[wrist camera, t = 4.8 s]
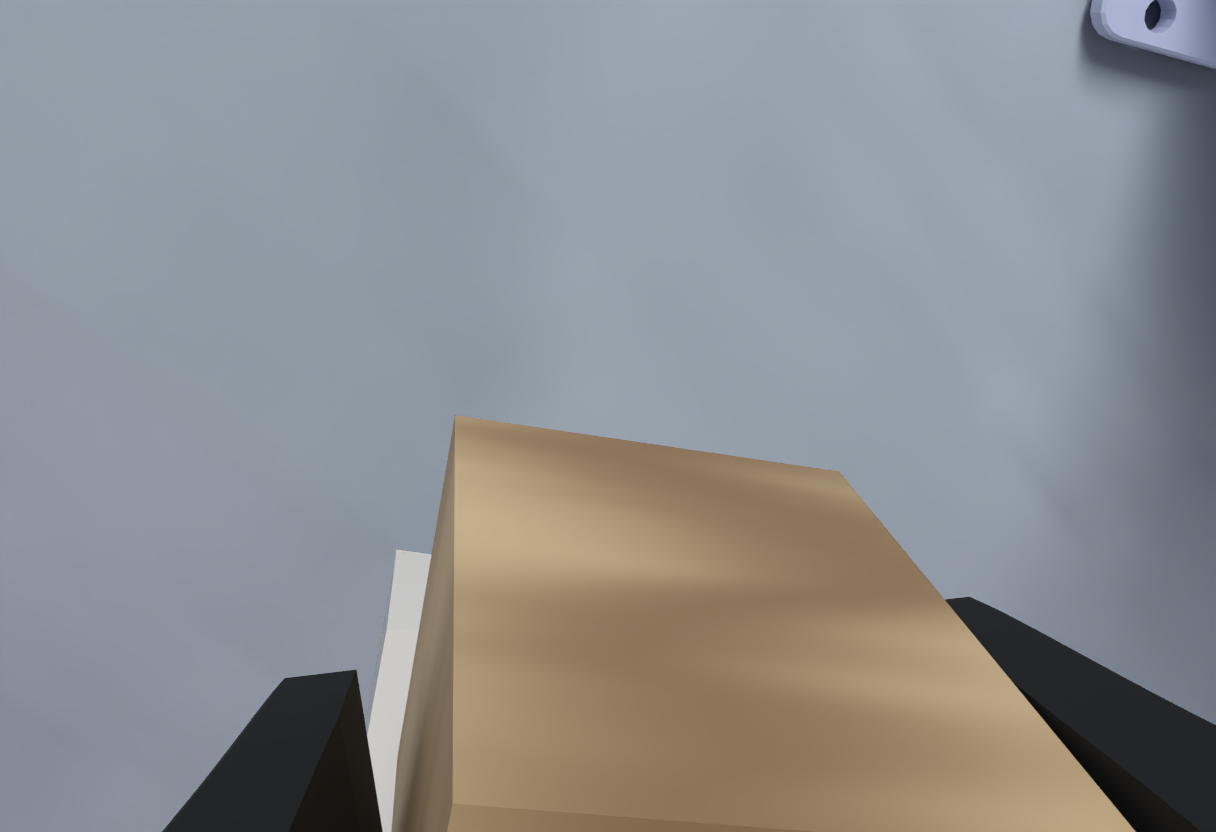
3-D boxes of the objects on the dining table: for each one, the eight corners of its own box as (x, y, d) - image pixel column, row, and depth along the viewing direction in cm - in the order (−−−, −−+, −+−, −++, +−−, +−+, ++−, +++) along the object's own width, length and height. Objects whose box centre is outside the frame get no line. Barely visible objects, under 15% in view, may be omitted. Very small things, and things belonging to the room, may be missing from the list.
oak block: (838, 471, 11) (1158, 857, 6) (745, 785, 12) (943, 1322, 7) (455, 414, 10) (452, 803, 5) (397, 756, 12) (351, 1331, 7)
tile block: (809, 598, 21) (862, 688, 18) (705, 916, 24) (738, 1037, 21) (397, 539, 20) (386, 627, 17) (334, 886, 22) (316, 1013, 19)
